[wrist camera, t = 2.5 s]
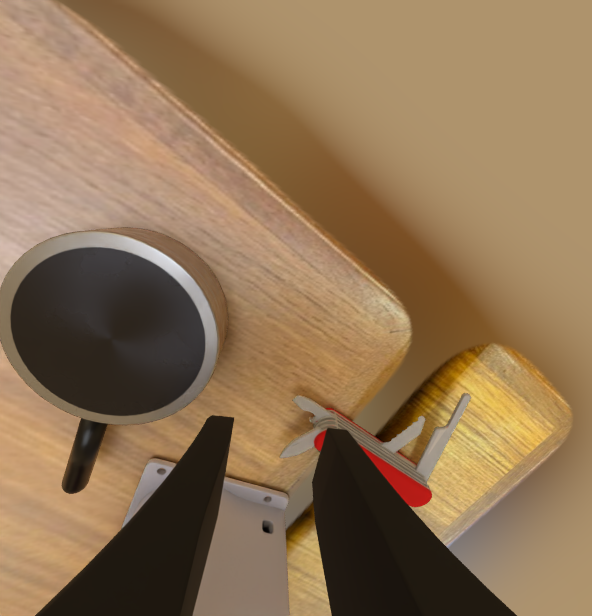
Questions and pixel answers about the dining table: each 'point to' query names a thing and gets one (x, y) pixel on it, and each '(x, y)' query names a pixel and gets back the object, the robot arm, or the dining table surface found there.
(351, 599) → the robot arm
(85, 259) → the pan
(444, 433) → the swiss army knife
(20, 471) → the dining table surface
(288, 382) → the dining table surface
